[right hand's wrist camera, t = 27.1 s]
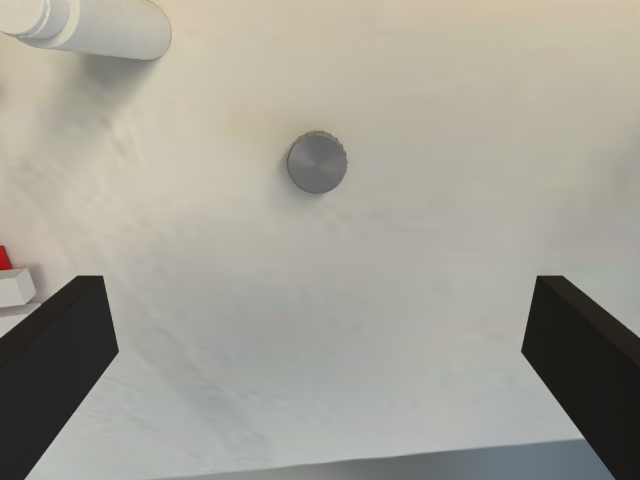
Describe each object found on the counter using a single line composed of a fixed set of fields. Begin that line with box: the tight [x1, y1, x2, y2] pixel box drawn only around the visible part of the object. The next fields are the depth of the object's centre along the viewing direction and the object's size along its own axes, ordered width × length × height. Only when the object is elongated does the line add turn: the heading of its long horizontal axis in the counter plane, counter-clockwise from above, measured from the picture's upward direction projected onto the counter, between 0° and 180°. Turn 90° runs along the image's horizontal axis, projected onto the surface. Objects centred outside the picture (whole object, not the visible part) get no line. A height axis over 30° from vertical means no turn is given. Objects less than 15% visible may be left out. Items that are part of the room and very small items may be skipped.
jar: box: [0, 0, 171, 60], centre depth 26 cm, size 4×4×16 cm
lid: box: [287, 131, 347, 194], centre depth 36 cm, size 5×5×2 cm
